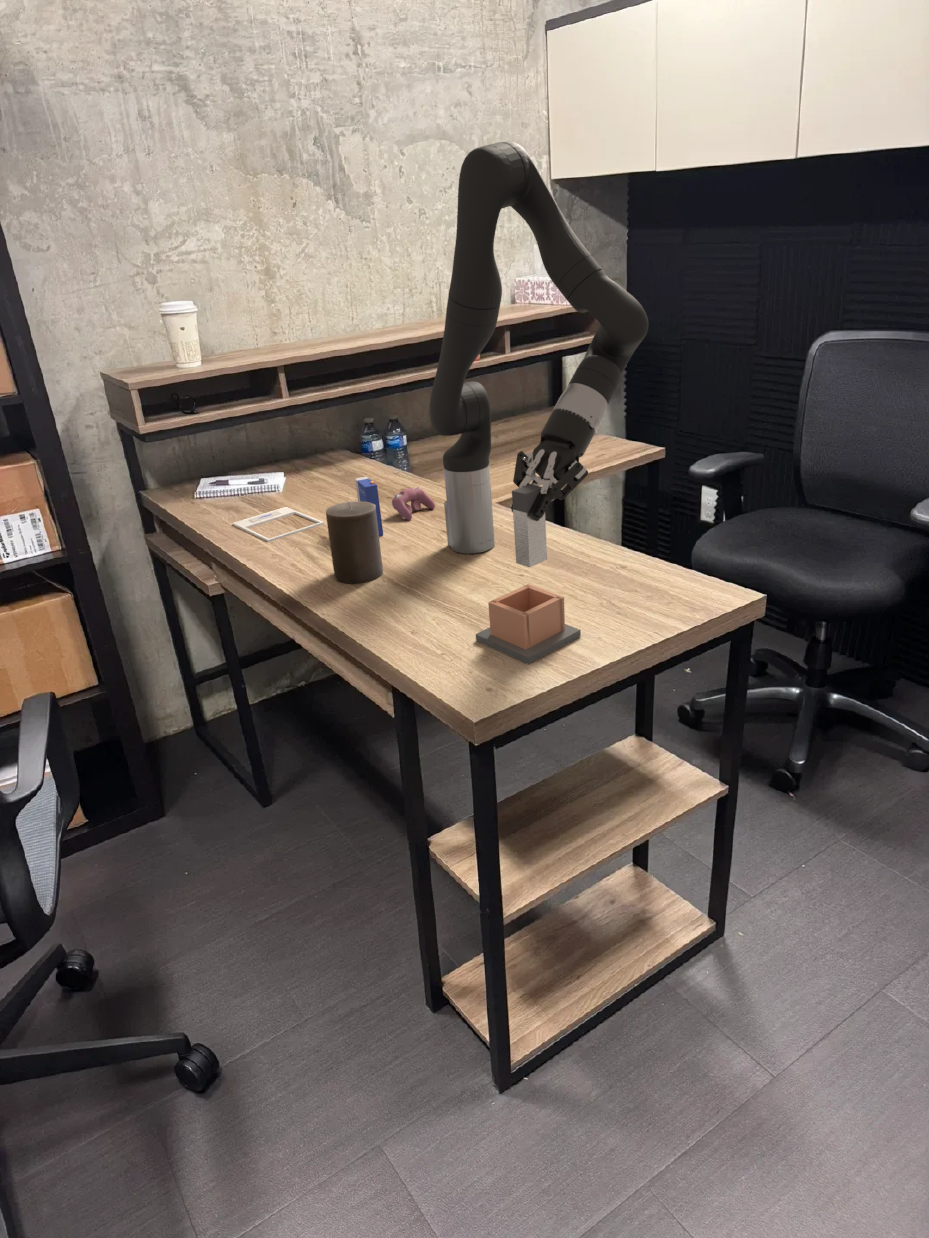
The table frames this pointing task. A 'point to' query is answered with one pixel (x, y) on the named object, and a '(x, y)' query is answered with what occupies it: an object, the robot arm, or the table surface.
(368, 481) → the walkman
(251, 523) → the photo frame
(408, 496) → the video game controller
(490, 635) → the box
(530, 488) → the grey block
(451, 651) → the table surface
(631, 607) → the table surface
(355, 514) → the pillar candle
